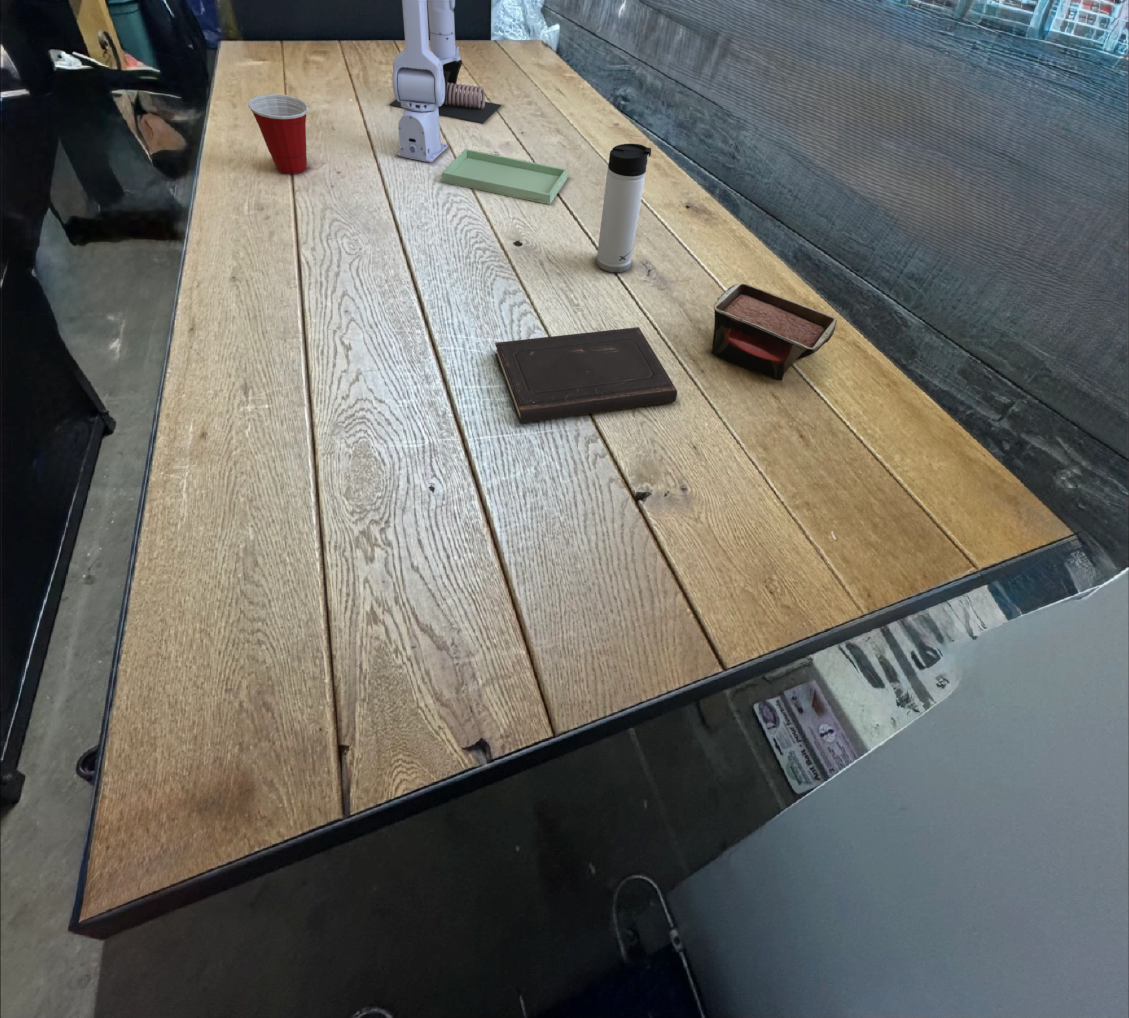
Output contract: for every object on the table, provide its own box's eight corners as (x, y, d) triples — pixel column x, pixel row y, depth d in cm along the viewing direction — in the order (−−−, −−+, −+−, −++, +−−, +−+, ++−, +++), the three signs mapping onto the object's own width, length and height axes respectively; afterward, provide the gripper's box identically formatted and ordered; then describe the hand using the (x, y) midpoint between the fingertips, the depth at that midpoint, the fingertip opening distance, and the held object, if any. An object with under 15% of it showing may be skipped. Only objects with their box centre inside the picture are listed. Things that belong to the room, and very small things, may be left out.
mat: (482, 123, 156) (482, 122, 156) (389, 105, 159) (389, 104, 158) (500, 105, 164) (500, 104, 164) (412, 88, 167) (411, 87, 167)
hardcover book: (495, 355, 98) (495, 342, 97) (636, 339, 104) (639, 326, 102) (520, 425, 89) (520, 413, 87) (674, 404, 94) (678, 391, 92)
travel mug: (629, 276, 116) (649, 157, 101) (593, 269, 117) (607, 150, 101) (634, 258, 120) (653, 142, 105) (599, 252, 121) (613, 136, 105)
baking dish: (738, 323, 113) (744, 269, 105) (838, 354, 104) (853, 297, 97) (693, 365, 106) (697, 310, 98) (797, 403, 97) (809, 345, 90)
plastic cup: (312, 182, 130) (298, 115, 121) (257, 177, 129) (239, 110, 120) (326, 159, 137) (314, 95, 128) (274, 154, 136) (258, 89, 127)
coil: (486, 85, 159) (413, 76, 159) (482, 88, 156) (408, 79, 156) (485, 107, 163) (414, 98, 163) (482, 110, 159) (409, 101, 159)
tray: (549, 204, 132) (550, 195, 130) (442, 182, 134) (441, 172, 133) (567, 178, 140) (568, 169, 138) (465, 157, 143) (465, 148, 141)
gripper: (446, 42, 145) (449, 110, 155) (470, 26, 154) (471, 91, 164) (416, 37, 145) (422, 105, 156) (442, 21, 155) (445, 86, 165)
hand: (445, 97), depth 160 cm, fingers closed on coil, 5 cm apart
